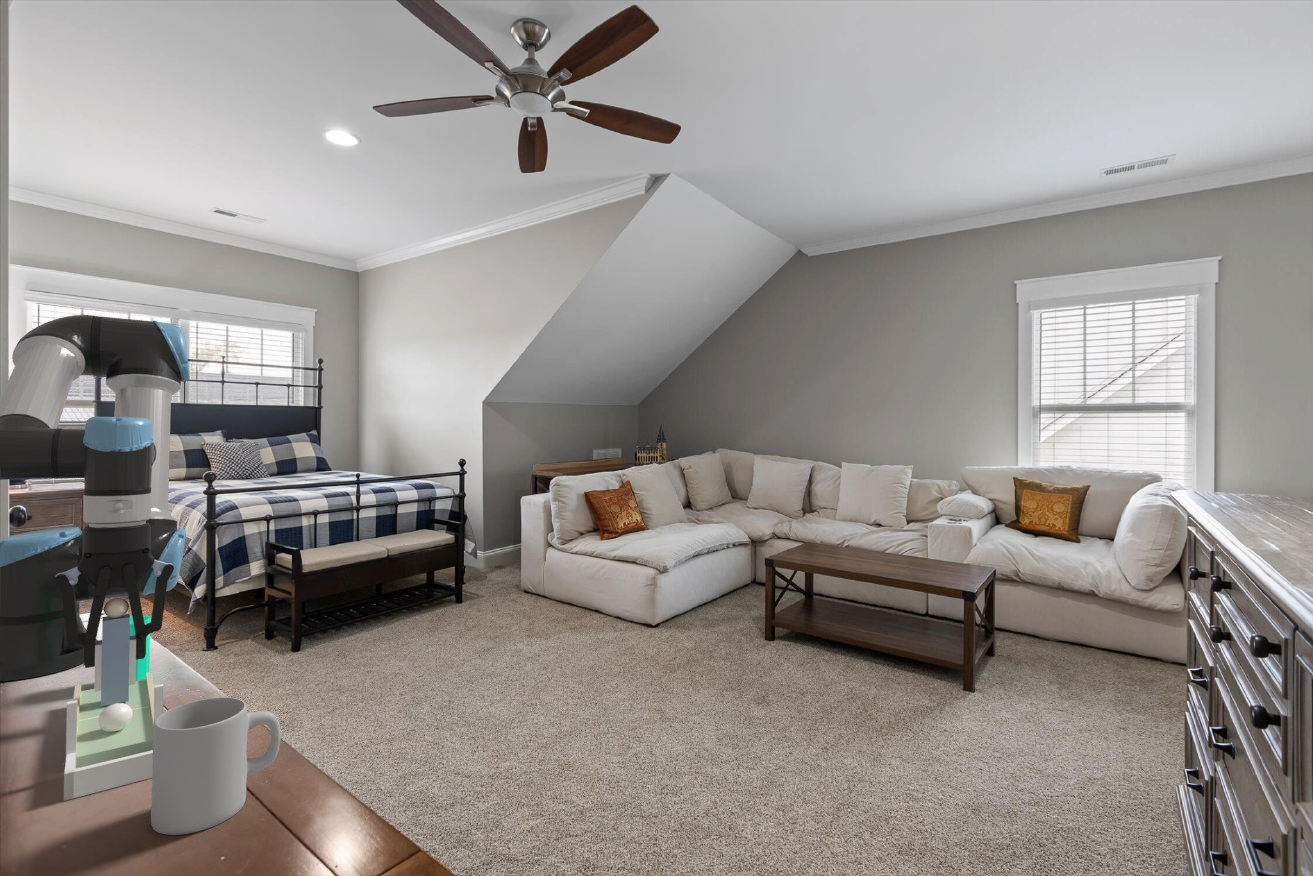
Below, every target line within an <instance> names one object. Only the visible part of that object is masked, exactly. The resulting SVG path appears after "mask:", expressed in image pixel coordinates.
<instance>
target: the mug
mask: <svg viewBox="0 0 1313 876" xmlns="http://www.w3.org/2000/svg"><path fill="white" fill-rule="evenodd" d="M262 725H265V726H268V728H269V731H270V741H269V746H268V748H267V750H266V751H265V753H264V754H262V755H260V756H258V757H255V758H254V757H252V758H248V757H247V744H248V743H247V742H248V734H249V731H251V730H252V729H254V728H256V727H258V726H262ZM280 745H281V725H280V722H279V719H278V717H277V715H276V714H274V712H271V711H267V710H263V711H261V710H260V711H254V712H248V706H247V703H246V701H244V700H242V699H240V698H236V697H212V698H211V697H210V698H203V699H200V700H194V701H189V702H187V703H186V702H185V703H183V704H180V705H177V706H174V707H172V708H170V709H167V710H166V711H163V713H162V714H161V715H160V716H158V717H157V718H156V720H155V722H154V725H153V767H152V778H151V779H152V780H151V807H150V808H151V809H150V824H151V827H152V829H153V830H154V831H155V832H157V833H158V834H162V835H166V836H167V835H168V836H182V835H188V834H193V833H197V832H202V831H205V830H208V829H211V828H213V827H215V826H218V825H219V824H222V823H224V822H226V821H227V820H229V819H231V818H233V817H234V816H235V815H236V814H238V812H240V810H241V809H242V808H243V807H244V805H245V802H246V800H247V799H246V798H247V777H248V776H250V775H253V774H255V773H258V772H261V771H262V770H264V769H266V768H269V766H270V765H272V764H273V762H274V761H275V760H276V759H277V756H278V755H279V754H278V753H279V751H280V747H281V746H280Z"/></svg>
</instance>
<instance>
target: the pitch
mask: <svg viewBox="0 0 1313 876" xmlns="http://www.w3.org/2000/svg"><path fill="white" fill-rule="evenodd" d="M154 685H155V683H154V677H153V672H152V671H150V672H149V673H146V679H145V680H140V681H135V684H134V685H129V701H125V702H120V703H124V704H127V705H129V706H130V707H131V709H132V711H133V717H132V720H131V721H130V723H129V724H128V725H127V726H126V727H125V728H123V729H121V730H119V731H116V732H107V731H104V730H102V729H101V728H100V726H99V724H98V718H99V716H100V714H101V712H102V711H103V710H104V709H105V708H106V707H108V706H110V705H112V704H110V705H105V706H101V691H96V692H94V688H91V689H90V688H89V689H87V690H82V684H77V685H75V686H74V691H73V699H72V701H74V700H77V753H76V769H77V768H81V767H85V766H89V765H93V764H97V763H101V762H106V761H110V760H114V759H118V758H122V757H126V756H131V755H135V754H139V753H143V752H147V751H151V750H153V724H154ZM115 704H116V703H115Z"/></svg>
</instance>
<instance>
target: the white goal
mask: <svg viewBox="0 0 1313 876" xmlns="http://www.w3.org/2000/svg"><path fill="white" fill-rule="evenodd" d="M162 713H164V683H160V684H154V722H155V720H156V718H157V717H158V716H160V715H161V714H162ZM153 725H154V724H153ZM65 729H66V733H65V735H66V736H65V737H66V739H65V742H66V743H65V764H64V765H65V766H64V773H63V774H64V775H63V776H64V777H63V801H64V802H65V801H68V800H72V799H73V800H74V799H76V798H80V797H84V796H89V795H91V794H96V793H99V792H102V791H107V790H112V789H115V788H119V787H122V786H126V785H129V784H133V783H136V782H137V783H138V782H141V781H145V780H149V779H152V767H153V750H151V751H147V752H143V753H139V754H135V755H131V756H126V757H122V758H118V759H114V760H110V761H106V762H101V763H97V764H93V765H89V766H85V767H81V768H77V769H76V753H77V700H74V701H73V700H70V701H66V728H65Z"/></svg>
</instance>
